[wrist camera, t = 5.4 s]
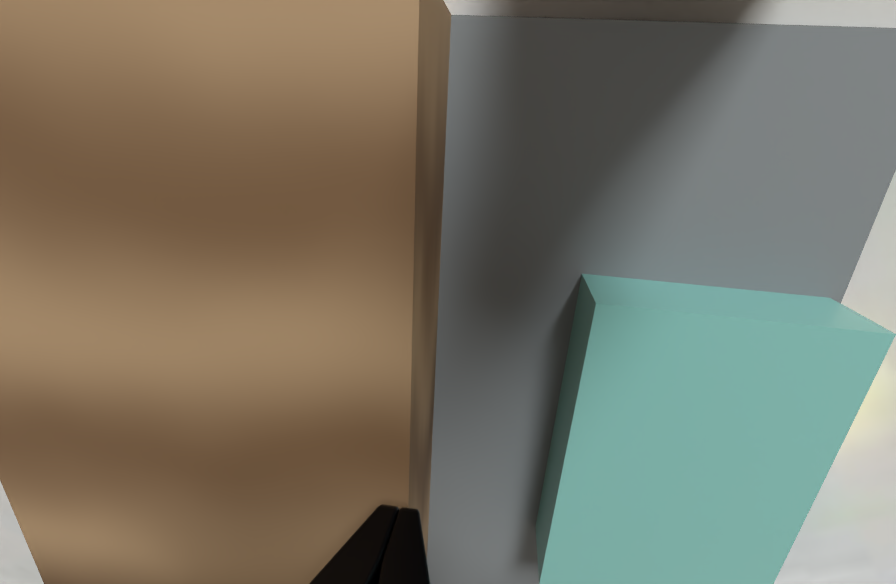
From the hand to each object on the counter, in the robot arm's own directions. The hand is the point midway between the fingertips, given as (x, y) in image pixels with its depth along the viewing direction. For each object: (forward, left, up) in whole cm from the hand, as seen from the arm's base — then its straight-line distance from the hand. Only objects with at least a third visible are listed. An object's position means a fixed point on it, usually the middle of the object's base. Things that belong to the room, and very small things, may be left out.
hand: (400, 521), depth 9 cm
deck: (0, +5, -5) cm, 7 cm away
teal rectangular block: (0, -7, -2) cm, 7 cm away
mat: (0, -5, -5) cm, 7 cm away
